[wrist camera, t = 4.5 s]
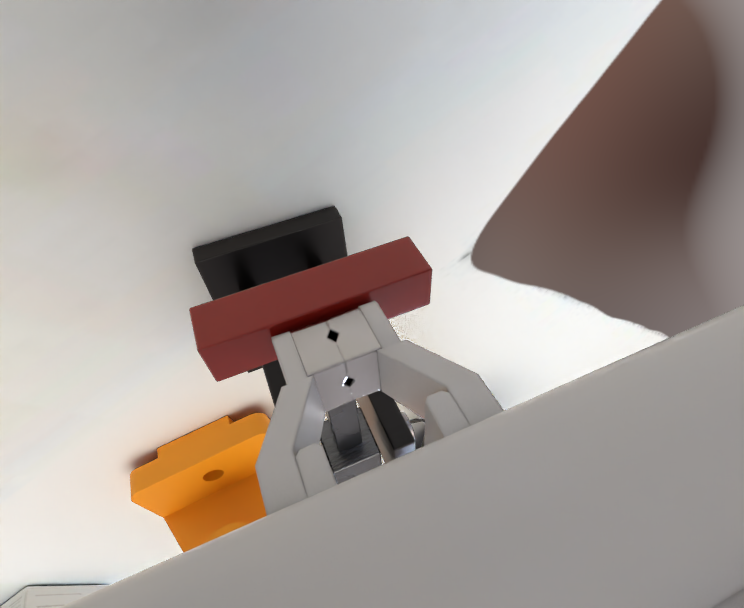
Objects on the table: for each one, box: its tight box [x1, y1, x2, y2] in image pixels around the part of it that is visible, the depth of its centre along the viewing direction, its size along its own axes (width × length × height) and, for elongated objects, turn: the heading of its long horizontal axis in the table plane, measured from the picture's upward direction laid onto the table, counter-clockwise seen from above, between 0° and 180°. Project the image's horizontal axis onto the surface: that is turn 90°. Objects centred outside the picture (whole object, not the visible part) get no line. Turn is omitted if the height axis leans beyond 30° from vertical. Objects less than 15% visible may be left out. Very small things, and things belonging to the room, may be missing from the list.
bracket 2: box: [192, 206, 415, 463], centre depth 24 cm, size 10×8×13 cm
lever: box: [189, 237, 432, 484], centre depth 17 cm, size 13×6×2 cm, turn 4°
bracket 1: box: [130, 413, 270, 552], centre depth 33 cm, size 11×7×12 cm, turn 102°
